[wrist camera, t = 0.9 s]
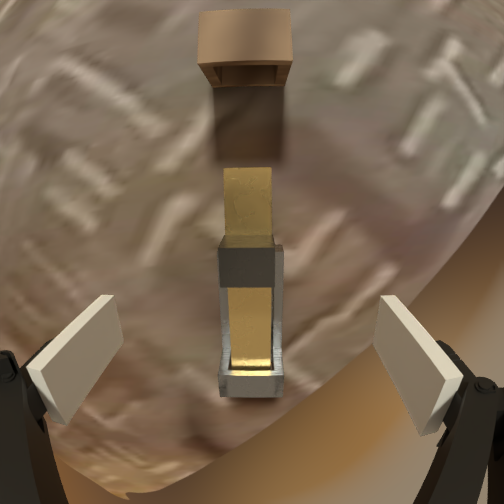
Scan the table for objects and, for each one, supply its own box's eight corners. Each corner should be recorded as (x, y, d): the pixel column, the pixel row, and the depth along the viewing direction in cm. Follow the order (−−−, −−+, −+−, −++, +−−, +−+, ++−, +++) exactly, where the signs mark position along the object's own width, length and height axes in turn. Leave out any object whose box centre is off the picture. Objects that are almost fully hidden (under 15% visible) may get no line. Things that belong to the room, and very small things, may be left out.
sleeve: (226, 356, 36) (219, 396, 29) (220, 245, 32) (209, 268, 25) (279, 356, 36) (282, 397, 29) (281, 244, 32) (288, 268, 25)
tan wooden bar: (235, 362, 35) (229, 415, 26) (228, 167, 29) (215, 168, 20) (269, 362, 35) (271, 416, 26) (270, 167, 29) (275, 167, 20)
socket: (212, 87, 27) (197, 63, 20) (213, 45, 26) (199, 12, 18) (284, 86, 27) (292, 60, 20) (282, 43, 26) (289, 9, 18)
